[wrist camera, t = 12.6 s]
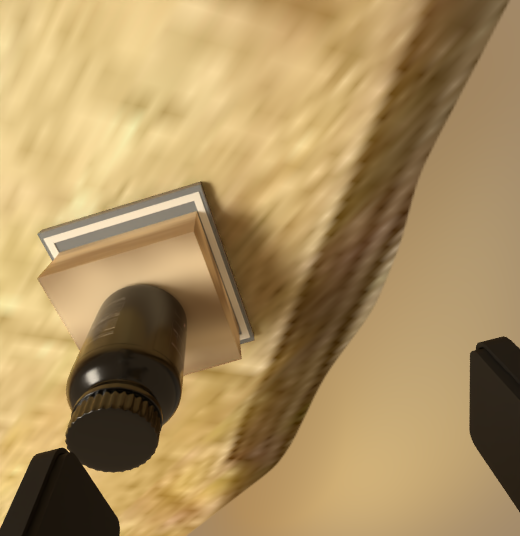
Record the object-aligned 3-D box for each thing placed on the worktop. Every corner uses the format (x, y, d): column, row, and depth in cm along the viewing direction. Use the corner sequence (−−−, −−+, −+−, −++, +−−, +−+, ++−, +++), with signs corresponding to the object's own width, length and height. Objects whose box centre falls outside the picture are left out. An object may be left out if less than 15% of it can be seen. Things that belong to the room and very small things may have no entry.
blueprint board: (41, 229, 35) (36, 234, 34) (200, 181, 34) (200, 184, 33) (120, 372, 42) (118, 380, 41) (253, 334, 41) (254, 340, 40)
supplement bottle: (109, 358, 34) (58, 492, 23) (91, 285, 31) (23, 398, 20) (193, 351, 34) (182, 479, 23) (184, 278, 31) (167, 385, 21)
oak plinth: (60, 252, 35) (37, 278, 30) (196, 210, 34) (193, 231, 30) (119, 361, 40) (107, 397, 35) (238, 326, 40) (241, 358, 35)
